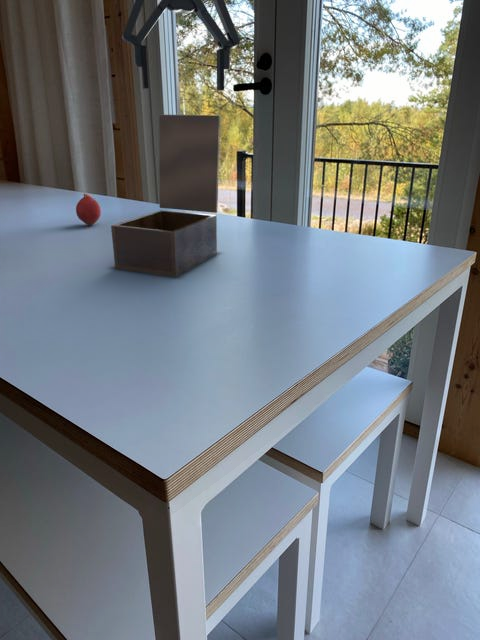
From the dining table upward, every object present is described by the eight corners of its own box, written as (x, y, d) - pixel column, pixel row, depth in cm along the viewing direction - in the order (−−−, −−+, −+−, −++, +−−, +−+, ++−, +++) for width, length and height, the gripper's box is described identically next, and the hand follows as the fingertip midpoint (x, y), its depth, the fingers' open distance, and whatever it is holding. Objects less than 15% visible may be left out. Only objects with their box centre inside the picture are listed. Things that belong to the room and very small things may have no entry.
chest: (176, 277, 81) (174, 232, 78) (115, 268, 86) (110, 225, 83) (216, 254, 95) (216, 215, 92) (162, 247, 100) (160, 210, 97)
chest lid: (218, 115, 86) (220, 115, 87) (159, 114, 91) (161, 114, 91) (215, 212, 92) (217, 212, 93) (159, 207, 96) (161, 207, 97)
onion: (89, 222, 122) (85, 190, 119) (107, 224, 119) (103, 192, 116) (73, 226, 117) (68, 193, 114) (91, 229, 115) (87, 195, 112)
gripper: (246, -42, 83) (244, 91, 92) (99, -56, 77) (112, 88, 86) (258, -55, 77) (255, 90, 85) (99, -72, 71) (113, 86, 79)
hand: (183, 89), depth 86 cm, fingers open, 13 cm apart
